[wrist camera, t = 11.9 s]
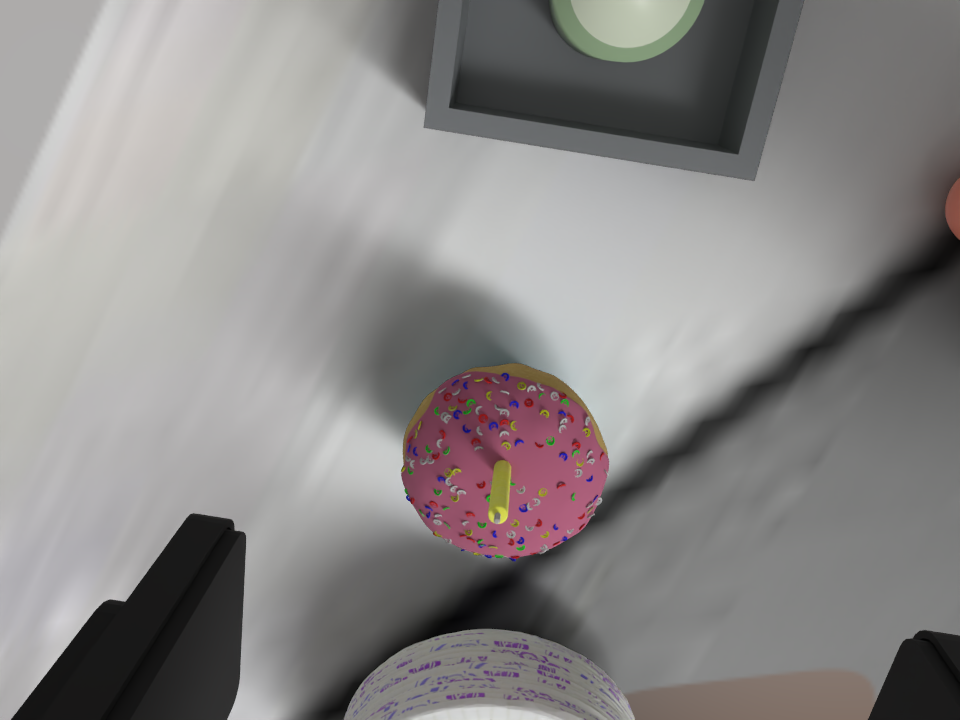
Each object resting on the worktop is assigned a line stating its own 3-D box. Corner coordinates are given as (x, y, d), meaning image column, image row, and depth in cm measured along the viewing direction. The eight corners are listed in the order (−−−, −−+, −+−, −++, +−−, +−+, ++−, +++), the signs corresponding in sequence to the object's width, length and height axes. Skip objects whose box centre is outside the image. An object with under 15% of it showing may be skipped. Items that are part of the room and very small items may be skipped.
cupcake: (409, 332, 35) (355, 461, 24) (600, 327, 35) (634, 457, 24) (423, 498, 39) (380, 680, 27) (598, 496, 38) (627, 682, 27)
